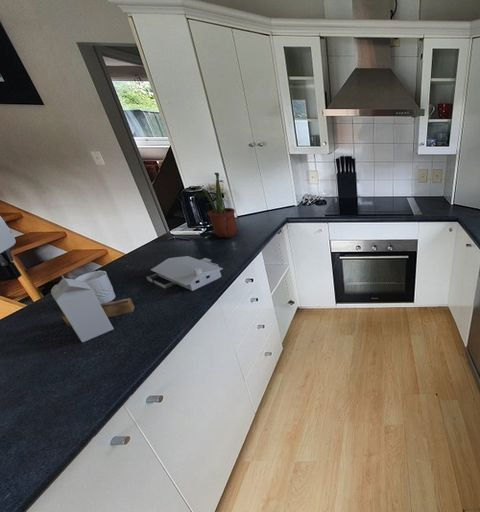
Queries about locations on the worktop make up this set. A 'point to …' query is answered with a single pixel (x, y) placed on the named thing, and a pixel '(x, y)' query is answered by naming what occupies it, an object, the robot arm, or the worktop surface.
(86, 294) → the milk carton
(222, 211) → the potted plant
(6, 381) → the worktop surface
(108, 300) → the white cup
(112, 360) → the worktop surface
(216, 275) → the grey portable case
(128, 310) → the rail
